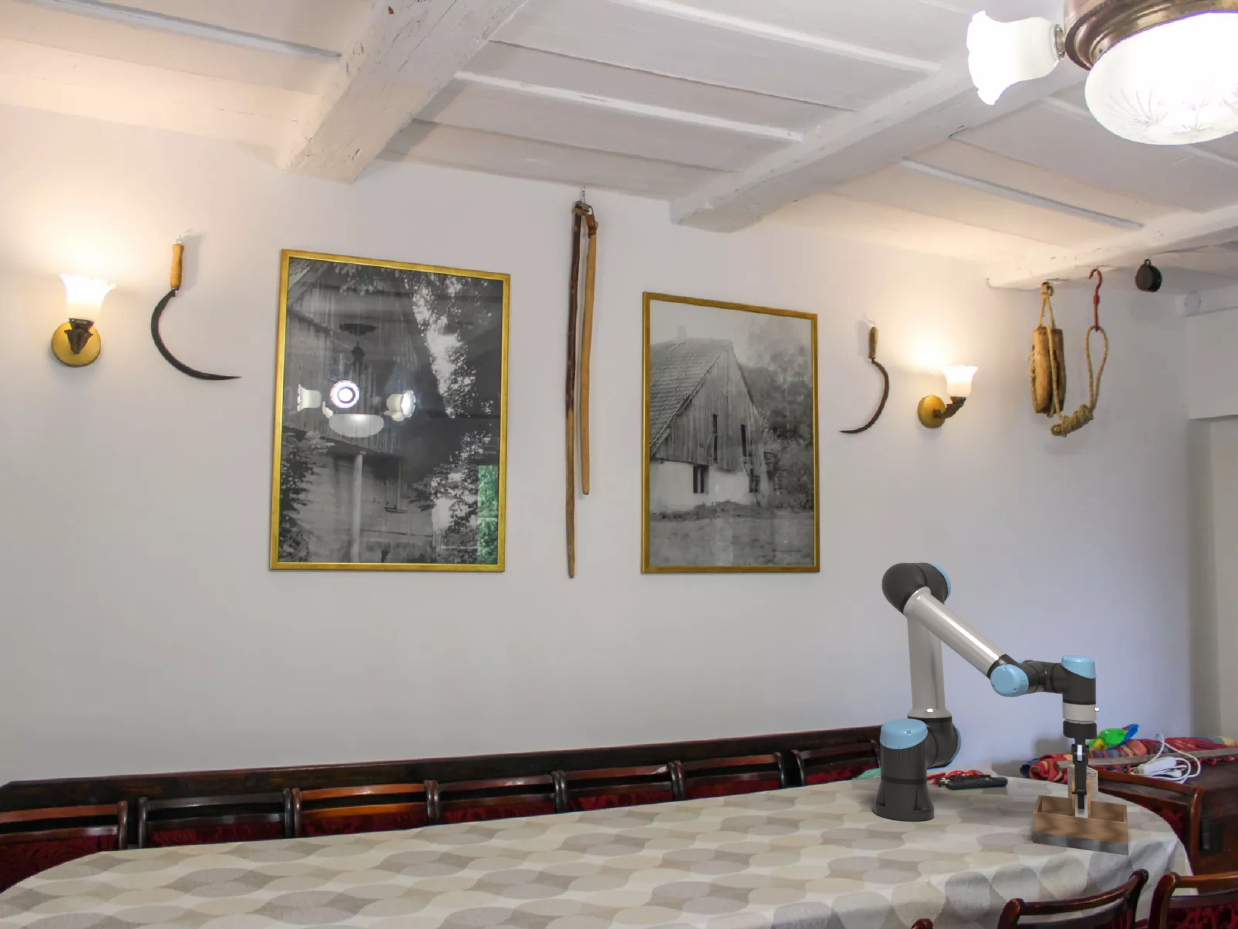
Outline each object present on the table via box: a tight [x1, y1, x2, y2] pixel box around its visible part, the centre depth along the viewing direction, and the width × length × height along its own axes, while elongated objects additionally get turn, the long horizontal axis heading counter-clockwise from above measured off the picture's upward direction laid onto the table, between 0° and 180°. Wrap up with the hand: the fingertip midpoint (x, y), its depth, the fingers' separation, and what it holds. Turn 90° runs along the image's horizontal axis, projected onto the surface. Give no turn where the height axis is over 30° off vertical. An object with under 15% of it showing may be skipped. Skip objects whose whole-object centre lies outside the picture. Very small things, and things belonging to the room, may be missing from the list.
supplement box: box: [1066, 764, 1099, 801], centre depth 268 cm, size 8×5×13 cm, turn 179°
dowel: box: [1072, 777, 1091, 818], centre depth 250 cm, size 4×4×14 cm
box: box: [1032, 794, 1129, 856], centre depth 249 cm, size 20×20×7 cm
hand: (1081, 819), depth 249 cm, fingers closed on dowel, 4 cm apart
